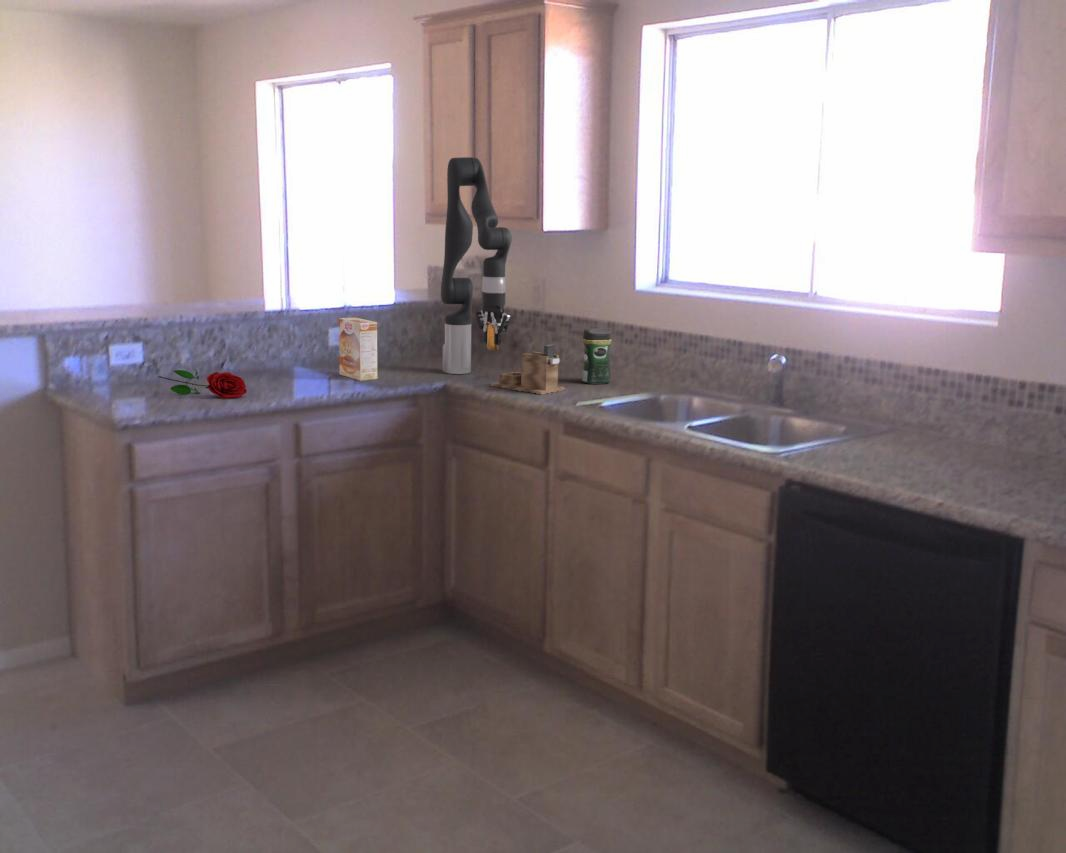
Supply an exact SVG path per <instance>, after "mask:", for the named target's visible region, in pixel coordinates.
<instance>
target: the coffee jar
mask: <svg viewBox="0 0 1066 853" xmlns="http://www.w3.org/2000/svg"><path fill="white" fill-rule="evenodd" d="M582 343H583V347H584V355H583V364H582V371H581V372H582V373H581V381H582V382H583V383H584V384H592V385H601V384H602V385H603V384H608V383H610V382H611V380H612V379H611V366H610V365H611V364H610V348H611V344H612V333H611V329H608V328H605V327H604V328H603V327H602V328H600V327H592V328H585V329H584V330H583V337H582Z"/></svg>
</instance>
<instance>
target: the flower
mask: <svg viewBox="0 0 1066 853" xmlns="http://www.w3.org/2000/svg"><path fill="white" fill-rule="evenodd" d="M193 369H194V371H195V375H193V373H191V372H189V371H187V370H182V369H175V370H172V372H174V373H175V374H176V375H178V376H180V377H182V378H184V379H189V380H193V379H195V378H196V379H197V380H199V379H200V375H198V374H199V373H198V371H197V369H196V368H195V367H193ZM157 378H161V379H165V380H169V381H173V382H178V383H184V384H176V385H173V386H171V387H170V388H169V389H170V390H171V391H172V392H174V393H176V394H177V395H178V394H179V395H190V394H191V393H192V391H193V392H196V393H197V394H200V392H199V391H198V390H197V388H196V387H197V386H199V387H204V389H208V390H209V391H210V393H212V394H214V395H216V396H218V397H219V398H221V399H222V400H223V399H226V400H227V399H229V398H230V399H239V398H242V397H243V396H244V395H245V394H247V392H248V390H247V389H246V388H247V385H246V383H245V380H244V379H243V378H242V377H239V376H237V375H235V374H232V373H230V372H217V371H215V372H213V373H210V374H209V375H207V377H206V381H207V383H208V385H207V384H206V385H205V384H197V383H196V384H195V383H193V382H192V383H191V382H189V381H181V380H179V379H176V380H175V379H172V378H169V377H165V376H161V375H160V376H158V375H157ZM192 386H196V387H194V389H193V388H192Z"/></svg>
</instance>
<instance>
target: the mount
mask: <svg viewBox="0 0 1066 853" xmlns="http://www.w3.org/2000/svg"><path fill="white" fill-rule="evenodd" d="M533 354H534V355H533ZM540 355H541V356H540ZM559 356H560V355H559V354H554V357H555V358H559ZM558 383H559V363H557V364H548V357H547V356H544V352H538V351H531V353H526V352H525V353H524V352H522V353H521V372H517V371H510V372H509V371H508V372H503V373H500V374H499V381H497V382H491V383H490V387H493V386H495V387H494V388H499V387H501V388H500V389H505V388H506V390H511V389H512V391H516V390H518V392H522V391H524V392H523V393H528V392H530V393H529V394H534V393H536V395H539V394H542V395H547V394H546V393H548V394H552V393H551V392H553V393H558V392H563V390H564V391H565V387H566V386H565V387H564V386H559V384H558ZM557 391H558V392H557Z"/></svg>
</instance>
